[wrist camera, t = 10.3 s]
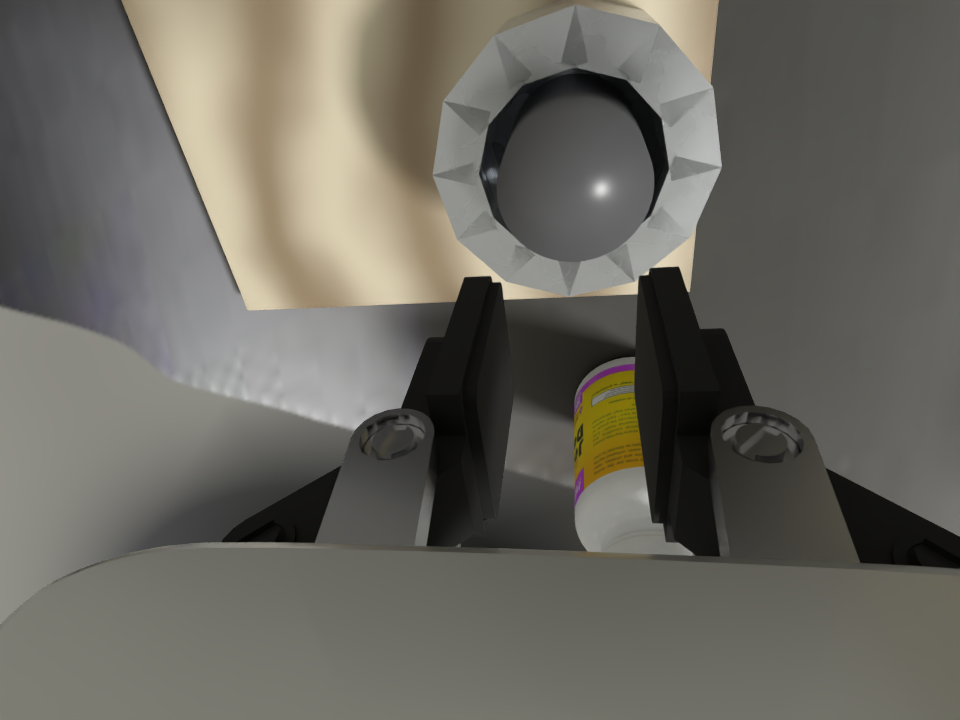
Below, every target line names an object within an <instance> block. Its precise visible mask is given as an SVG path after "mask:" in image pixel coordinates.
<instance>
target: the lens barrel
mask: <svg viewBox="0 0 960 720" xmlns="http://www.w3.org/2000/svg"><path fill="white" fill-rule="evenodd" d="M572 73H585V74H592V75H595V76H598V77H601V78H603V79H605V80H607V81H609V82H611V83H612V84H614V85H615V86H616V87H617V88H618V89H619V90H620V91H622V93H623V94H624V95H625V96H626V98H627V99H628V101H629V102H630V104H631V106H632V108H633V111H634V113H635V116H636V119H637V122H638V124H639V127H640V130H641V133H642V135H643V138H644V141H645V144H646V147H647V149H648V152H649V155H650V158H651V161H652V165H653V170H654V192H653V197H652V202H651V205H650V208H649V210H648V213H647V215H646V217H645V219H644V220H643V222H642V224H641V225H640V227H639V228H638V229H637V231H636V232H635V233H634V234H633V235H632V236H631V237H630V238H629V239H628V240H627V241H626V242H625V243H623V244H622V245H621V246H619V247H618V248H617V249H615V250H613V251H611V252H610V253H608V254H605V255H603V256H601V257H598V258H594V259H591V260H586V261H579V262H564V261H557V260H552V259H549V258H546V257H543V256H541V255H538V254H536V253H534V252H533V251H531V250H529V249H528V248H526V247H525V246H524V245H523V244H521V243H520V242H519V241H518V240H517V239H516V238H515V237H514V236H513V234H512V233H511V232H510V230H509V229H508V227H507V226H506V224H505V222H504V220H503V218H502V215H501V213H500V209H499V205H498V201H497V178H498V172H499V168H500V165H501V162H502V159H503V156H504V153H505V150H506V147H507V144H508V141H509V137H510V134H511V131H512V128H513V125H514V122H515V119H516V117H517V115H518V112H519V110H520V108H521V107H522V105H523V103H524V102H525V101H526V99H527V98H528V97H529V96H530V95H531V94H532V93H533V92H534V91H535V90H536V89H537V88H538V87H540V86H541V85H542V84H544V83H546V82H547V81H549V80H551V79H553V78H556V77H558V76H562V75H566V74H572ZM721 168H722V165H721V156H720V146H719V137H718V128H717V118H716V109H715V100H714V90H713V87H712V86H711V85H710V83H709V82H708V81H707V80H706V79H705V78H704V76H703V75H702V74H701V73H700V72H699V70H698V69H697V68H696V67H695V66H694V65H693V63H692V62H691V61H690V60H689V59H688V58H687V56H686V55H685V54H684V53H683V52H682V50H681V49H680V48H679V47H678V46H677V45H676V43H675V42H674V41H673V40H672V39H671V38H670V36H669V35H668V34H667V33H666V32H665V31H664V29H663V28H662V27H661V26H660V24H659V23H657V22H656V21H655V20H654V19H653V18H652V17H651V16H650V15H649V14H647V13H646V12H645V11H644V10H641V9H637V8H632V7H628V6H624V5H620V4H616V3H612V2H608V1H603V0H558V1H555V2H552V3H550V4H547V5H545V6H542V7H539V8H537V9H534V10H532V11H529V12H526V13H524V14H521V15H519V16H516V17H513V18H511V19H508V20H507V21H506V22H505V24H504V25H503V26H502V27H501V28H500V29H499V30H498V31H497V32H496V34H495V35H494V36H493V37H492V39H491V40H490V41H489V43H488V44H487V45H486V46H485V48H484V49H483V50H482V52H481V53H480V54H479V55H478V57H477V58H476V59H475V61H474V62H473V63H472V64H471V66H470V67H469V68H468V70H467V71H466V72H465V73H464V75H463V76H462V77H461V79H460V80H459V81H458V82H457V84H456V85H455V86H454V88H453V89H452V90H451V91H450V93H449V94H448V95H447V97H446V98H445V99H444V100H443V106H442V113H441V120H440V127H439V134H438V141H437V148H436V155H435V162H434V169H433V178H434V181H435V183H436V186H437V188H438V191H439V194H440V196H441V199H442V202H443V204H444V207H445V209H446V212H447V215H448V217H449V220H450V222H451V225H452V228H453V230H454V233H455V236H456V238H457V240H458V241H459V242H460V243H462V244H463V245H464V246H465V247H466V248H467V249H468V250H470V251H471V252H472V253H473V254H474V255H475V256H477V257H478V258H479V259H480V260H481V261H482V262H484V263H485V264H486V265H487V266H488V267H489V268H491V269H492V270H493V271H494V272H495V273H496V274H498V275H499V276H500V277H501V278H502V279H503V280H505V281H506V282H509V283H513V284H517V285H521V286H526V287H530V288H534V289H538V290H543V291H547V292H551V293H555V294H559V295H564V296H568V297H570V296H575V295H579V294H583V293H588V292H592V291H596V290H601V289H605V288H610V287H614V286H618V285H623V284H627V283H632V282H635V281H636V280H637V279H639V276H640V275H644V274H645V273H646V272H647V271H649V269H650V268H652V267H654V266H655V265H656V264H657V263H659V262H660V261H661V260H662V259H664V258H665V257H666V256H667V255H669V254H670V253H671V252H672V251H674V250H675V249H676V248H677V247H679V246H680V245H681V244H682V243H684V242H685V241H686V240H687V239H689V238H690V237H691V235H692V233H693V230H694V228H695V226H696V224H697V221H698V219H699V217H700V215H701V212H702V210H703V208H704V206H705V204H706V201H707V199H708V197H709V195H710V192H711V190H712V188H713V186H714V184H715V181H716V179H717V177H718V175H719V172H720V170H721Z"/></svg>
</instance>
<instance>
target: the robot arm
mask: <svg viewBox="0 0 960 720" xmlns="http://www.w3.org/2000/svg"><path fill="white" fill-rule="evenodd" d="M634 394H635V403H636V411H637V418H638V425H639V433H640V440H641V447H642V455H643V462H644V469H645V477H646V484H647V491H648V499H649V506H650V513H651V520H652V523H658V524H663V527H664V534H665V540H666V542H671V543H680V544H681V545H683V546H684V547H685V548H687V549H688V550H689V551H691V552H692V553H693V556H688V555H664V554H638V553H611V552H583V551H555V550H526V549H498V548H470V547H461V546H460V543H462V542H463V541H464V540H466V539H467V538H469V537H470V536H485V533H486V526H487V520H488V519H496V518H497V516H498V509H499V502H500V494H501V487H502V479H503V472H504V464H505V457H506V449H507V442H508V434H509V427H510V419H511V412H512V404H513V379H512V370H511V361H510V352H509V343H508V334H507V325H506V316H505V307H504V298H503V289H502V284H501V282H493V281H492V277H491V276H477V277H465V278H464V279H463V283H462V286H461V289H460V292H459V295H458V298H457V301H456V304H455V307H454V310H453V313H452V316H451V319H450V322H449V325H448V328H447V331H446V334H445V337H430V338H428V339H427V341H426V343H425V346H424V348H423V351H422V354H421V356H420V359H419V362H418V364H417V367H416V370H415V372H414V375H413V378H412V380H411V383H410V386H409V388H408V391H407V394H406V396H405V399H404V402H403V405H402V407H401V408H399V409H393V410H387V411H384V412H381V413H378V414H376V415H374V416H372V417H370V418H369V419H367V420H365V421H364V422H363V423H362V424H361V425H360V426H359V427H358V428H357V429H356V430H355V432H354V434H353V435H352V437H351V440H350V442H349V445H348V448H347V451H346V454H345V457H344V460H343V463H342V465H341V466H340V467H338V468H336V469H334V470H333V471H331V472H329V473H327V474H326V475H324V476H322V477H320V478H318V479H317V480H315V481H313V482H312V483H310V484H308V485H306V486H304V487H303V488H301V489H299V490H297V491H296V492H294V493H292V494H290V495H289V496H287V497H285V498H283V499H281V500H280V501H278V502H276V503H274V504H273V505H271V506H269V507H267V508H266V509H264V510H262V511H260V512H259V513H257V514H255V515H253V516H252V517H250V518H248V519H246V520H245V521H244V522H242V523H241V524H239V525H238V526H236V527H235V528H233V529H232V531H231V532H230V533H229V534H228V535H227V536H226V537H225V538H224V539H223V540H222V542H220V543H210V542H208V543H195V544H184V545H173V546H164V547H159V548H154V549H148V550H142V551H137V552H131V553H128V554H124V555H121V556H118V557H115V558H111V559H108V560H104V561H101V562H97V563H94V564H92V565H90V566H87V567H84V568H82V569H79V570H77V571H75V572H72V573H70V574H68V575H66V576H63V577H61V578H59V579H57V580H55V581H54V582H52V583H51V584H49V585H47V586H46V587H44V588H42V589H41V590H39V591H38V592H37V593H35V594H34V595H33V596H32V597H30V598H29V599H28V600H26V601H25V602H24V603H23V604H22V605H20V606H19V607H18V608H17V609H16V610H15V611H14V612H13V613H12V614H10V615H9V616H8V617H7V618H6V619H5V620H4V621H3V622H2V623H1V624H0V720H960V537H959V536H957V535H955V534H953V533H951V532H949V531H947V530H945V529H944V528H942V527H940V526H938V525H936V524H934V523H932V522H930V521H928V520H926V519H924V518H922V517H920V516H918V515H916V514H914V513H912V512H910V511H909V510H907V509H905V508H903V507H901V506H899V505H897V504H895V503H893V502H891V501H889V500H887V499H885V498H883V497H881V496H879V495H877V494H875V493H873V492H872V491H870V490H868V489H866V488H864V487H862V486H860V485H858V484H856V483H854V482H852V481H850V480H848V479H846V478H844V477H842V476H840V475H838V474H837V473H835V472H833V471H831V470H829V469H827V468H825V465H824V463H823V460H822V457H821V455H820V452H819V449H818V446H817V444H816V441H815V439H814V437H813V435H812V434H811V432H810V430H809V429H808V428H807V427H806V426H805V425H804V424H802V423H801V422H800V421H799V420H798V419H796V418H794V417H792V416H790V415H789V414H787V413H785V412H782V411H779V410H775V409H772V408H769V407H761V406H755V404H754V402H753V399H752V396H751V394H750V391H749V389H748V386H747V384H746V381H745V379H744V376H743V374H742V371H741V369H740V366H739V364H738V361H737V359H736V356H735V354H734V351H733V349H732V346H731V343H730V341H729V338H728V336H727V333H726V332H725V330H724V329H722V328H718V329H700V328H699V325H698V322H697V319H696V316H695V313H694V310H693V307H692V304H691V301H690V298H689V295H688V292H687V289H686V286H685V283H684V280H683V277H682V274H681V271H680V268H679V266H678V267H658V268H650V269H649V275H640V276H639V279H638V300H637V325H636V350H635V374H634Z"/></svg>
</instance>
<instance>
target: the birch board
mask: <svg viewBox="0 0 960 720" xmlns="http://www.w3.org/2000/svg"><path fill="white" fill-rule="evenodd" d="M555 1H558V0H122V3H123V5H124V8H125V10H126V13H127V15H128V18H129V20H130V23H131V25H132V27H133V30H134V32H135V35H136V37H137V40H138V42H139V45H140V47H141V49H142V52H143V54H144V57H145V59H146V62H147V64H148V67H149V69H150V72H151V74H152V76H153V79H154V81H155V84H156V86H157V89H158V91H159V94H160V96H161V98H162V101H163V103H164V106H165V108H166V111H167V113H168V116H169V118H170V121H171V123H172V125H173V128H174V130H175V133H176V135H177V138H178V140H179V143H180V145H181V147H182V150H183V152H184V155H185V157H186V160H187V162H188V165H189V167H190V170H191V172H192V174H193V177H194V179H195V182H196V184H197V187H198V189H199V192H200V194H201V196H202V199H203V201H204V204H205V206H206V209H207V211H208V214H209V216H210V219H211V221H212V223H213V226H214V228H215V231H216V233H217V236H218V238H219V241H220V243H221V245H222V248H223V250H224V253H225V255H226V258H227V260H228V263H229V265H230V268H231V270H232V272H233V275H234V277H235V280H236V282H237V285H238V287H239V290H240V292H241V294H242V297H243V299H244V302H245V304H246V307H247V309H248V310H270V309H293V308H317V307H341V306H365V305H389V304H412V303H436V302H456V301H457V298H458V295H459V292H460V289H461V286H462V283H463V279H464V278H465V277H477V276H491V277H492V281H493V282H501V284H502V289H503V298H504V300H507V299H531V298H555V297H568V296H564V295H559V294H555V293H551V292H547V291H543V290H538V289H534V288H530V287H526V286H521V285H517V284H513V283H509V282H506V281H505V280H503V279H502V278H501V277H500V276H499V275H498V274H496V273H495V272H494V271H493V270H492V269H491V268H489V267H488V266H487V265H486V264H485V263H484V262H482V261H481V260H480V259H479V258H478V257H477V256H475V255H474V254H473V253H472V252H471V251H470V250H468V249H467V248H466V247H465V246H464V245H463V244H462V243H460V242H459V241H458V240H457V238H456V236H455V233H454V230H453V228H452V225H451V222H450V220H449V217H448V215H447V212H446V209H445V207H444V204H443V202H442V199H441V196H440V194H439V191H438V188H437V186H436V183H435V181H434V178H433V169H434V162H435V155H436V148H437V141H438V134H439V127H440V120H441V113H442V106H443V100H444V99H445V98H446V97H447V95H448V94H449V93H450V91H451V90H452V89H453V88H454V86H455V85H456V84H457V82H458V81H459V80H460V79H461V77H462V76H463V75H464V73H465V72H466V71H467V70H468V68H469V67H470V66H471V64H472V63H473V62H474V61H475V59H476V58H477V57H478V55H479V54H480V53H481V52H482V50H483V49H484V48H485V46H486V45H487V44H488V43H489V41H490V40H491V39H492V37H493V36H494V35H495V34H496V32H497V31H498V30H499V29H500V28H501V27H502V26H503V25H504V24H505V22H506V21H507V20H508V19H511V18H513V17H516V16H519V15H521V14H524V13H526V12H529V11H532V10H534V9H537V8H539V7H542V6H545V5H547V4H550V3H552V2H555ZM603 1H608V2H612V3H616V4H620V5H624V6H628V7H632V8H637V9H641V10H644V11H645V12H646V13H647V14H649V15H650V16H651V17H652V18H653V19H654V20H655V21H656V22H657V23H659V24H660V26H661V27H662V28H663V29H664V31H665V32H666V33H667V34H668V35H669V36H670V38H671V39H672V40H673V41H674V42H675V43H676V45H677V46H678V47H679V48H680V49H681V50H682V52H683V53H684V54H685V55H686V56H687V58H688V59H689V60H690V61H691V62H692V63H693V65H694V66H695V67H696V68H697V69H698V70H699V72H700V73H701V74H702V75H703V76H704V78H705V79H706V80H707V81H708V82H709V83H710V82H711V72H712V62H713V52H714V41H715V31H716V21H717V11H718V1H719V0H603ZM695 234H696V226H695V228H694V230H693V233H692V235H691V237H690V238H689V239H687V240H686V241H685V242H684V243H682V244H681V245H680V246H679V247H677V248H676V249H675V250H674V251H672V252H671V253H670V254H669V255H667V256H666V257H665V258H664V259H662V260H661V261H660V262H659V263H657V264H656V265H655V266H654V267H652V268H658V267H678V266H679V268H680V271H681V274H682V277H683V280H684V283H685V286H686V289H687V292H690V284H691V274H692V264H693V254H694V244H695ZM644 275H649V271H647V272H646V273H645V274H644ZM626 294H638V279H637V280H636V281H635V282H632V283H627V284H623V285H618V286H614V287H610V288H605V289H601V290H596V291H592V292H588V293H583V294H579V295H575V296H570V297H579V296H602V295H626Z"/></svg>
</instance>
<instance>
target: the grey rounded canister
mask: <svg viewBox="0 0 960 720" xmlns="http://www.w3.org/2000/svg"><path fill="white" fill-rule="evenodd" d="M653 192H654V170H653V165H652V161H651V158H650V155H649V152H648V149H647V147H646V144H645V141H644V138H643V135H642V133H641V130H640V127H639V124H638V122H637V119H636V116H635V113H634V111H633V108H632V106H631V104H630V102H629V101H628V99H627V98H626V96H625V95H624V94H623V93H622V91H620V90H619V89H618V88H617V87H616V86H615V85H614V84H612V83H611V82H609V81H607V80H605V79H603V78H601V77H598V76H595V75H592V74H585V73H572V74H566V75H562V76H558V77H556V78H553V79H551V80H549V81H547V82H546V83H544V84H542V85H541V86H540V87H538V88H537V89H536V90H535V91H534V92H533V93H532V94H531V95H530V96H529V97H528V98H527V99H526V101H525V102H524V103H523V105H522V107H521V108H520V110H519V112H518V115H517V117H516V119H515V122H514V125H513V128H512V131H511V134H510V137H509V141H508V144H507V147H506V150H505V153H504V156H503V159H502V162H501V165H500V168H499V172H498V178H497V201H498V205H499V209H500V213H501V215H502V218H503V220H504V222H505V224H506V226H507V227H508V229H509V230H510V232H511V233H512V234H513V236H514V237H515V238H516V239H517V240H518V241H519V242H520V243H521V244H523V245H524V246H525V247H526V248H528V249H529V250H531V251H533V252H534V253H536V254H538V255H541V256H543V257H546V258H549V259H552V260H557V261H564V262H579V261H586V260H591V259H594V258H598V257H601V256H603V255H605V254H608V253H610V252H611V251H613V250H615V249H617V248H618V247H619V246H621V245H622V244H623V243H625V242H626V241H627V240H628V239H629V238H630V237H631V236H632V235H633V234H634V233H635V232H636V231H637V229H638V228H639V227H640V225H641V224H642V222H643V220H644V219H645V217H646V215H647V213H648V210H649V208H650V205H651V202H652V197H653Z"/></svg>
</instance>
